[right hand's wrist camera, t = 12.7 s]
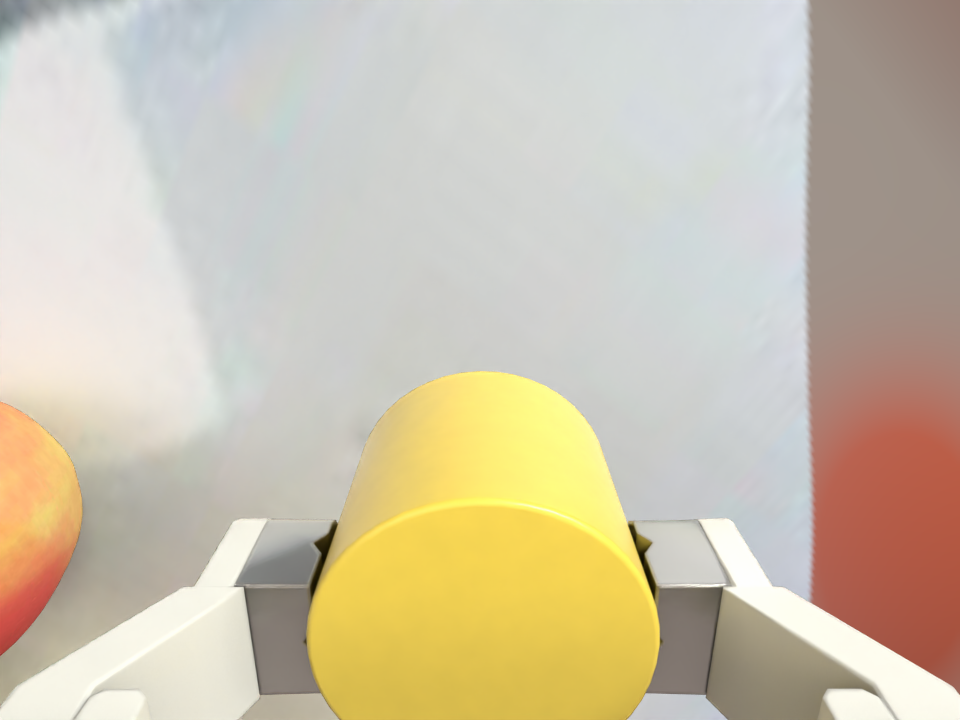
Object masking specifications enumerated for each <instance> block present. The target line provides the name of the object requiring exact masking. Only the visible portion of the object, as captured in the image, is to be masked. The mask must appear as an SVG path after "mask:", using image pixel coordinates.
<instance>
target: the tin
mask: <svg viewBox="0 0 960 720" xmlns="http://www.w3.org/2000/svg"><path fill="white" fill-rule="evenodd" d="M306 639H307V653H308V657H309V661H310V665H311V669H312V674H313V676H314V679H315V681H316V683H317V686H318V688H319V691H320V692H321V694H322V696H323V697H324V699H325V701H326V702H327V704H328V706H329V707H330V708H331V710H332V711H333V712H334V713H335V715H336V716H337V717H338V718H339V720H627V719H628V718H629V716H630V715H631V714H632V713H633V711H634V710H635V709H636V707H637V706H638V704H639V703H640V702H641V700H642V699H643V697H644V695H645V693H646V691H647V689H648V687H649V685H650V683H651V680H652V677H653V674H654V671H655V668H656V664H657V659H658V652H659V646H660V625H659V619H658V613H657V607H656V604H655V602H654V599H653V596H652V593H651V590H650V587H649V584H648V582H647V579H646V576H645V573H644V570H643V567H642V564H641V561H640V559H639V556H638V553H637V550H636V547H635V544H634V541H633V538H632V536H631V533H630V530H629V527H628V524H627V521H626V518H625V515H624V513H623V510H622V507H621V504H620V501H619V498H618V495H617V492H616V490H615V487H614V484H613V481H612V478H611V475H610V472H609V470H608V467H607V464H606V461H605V458H604V455H603V452H602V449H601V447H600V444H599V441H598V439H597V437H596V435H595V433H594V431H593V430H592V428H591V426H590V425H589V423H588V422H587V421H586V419H585V418H584V417H583V415H582V414H581V413H580V412H579V411H578V410H577V409H576V408H575V407H574V406H573V405H572V404H571V403H570V402H568V401H567V400H566V399H565V398H563V397H562V396H561V395H559V394H558V393H556V392H555V391H553V390H551V389H549V388H548V387H546V386H544V385H542V384H539V383H537V382H535V381H532V380H530V379H527V378H524V377H520V376H516V375H513V374H507V373H500V372H486V371H476V372H465V373H458V374H453V375H449V376H444V377H441V378H439V379H436V380H433V381H430V382H428V383H426V384H424V385H422V386H420V387H418V388H416V389H414V390H412V391H411V392H409V393H408V394H406V395H405V396H403V397H402V398H400V399H399V400H398V401H397V402H396V403H395V404H394V405H392V406H391V407H390V408H389V409H388V410H387V411H386V412H385V414H384V415H383V416H382V417H381V418H380V419H379V421H378V422H377V424H376V425H375V427H374V428H373V430H372V432H371V433H370V435H369V438H368V440H367V442H366V444H365V447H364V449H363V452H362V455H361V458H360V461H359V464H358V467H357V470H356V473H355V476H354V479H353V481H352V484H351V487H350V490H349V493H348V496H347V499H346V502H345V505H344V508H343V511H342V514H341V517H340V520H339V522H338V525H337V528H336V531H335V534H334V537H333V540H332V543H331V546H330V549H329V552H328V555H327V558H326V561H325V563H324V566H323V569H322V572H321V575H320V578H319V581H318V584H317V587H316V590H315V593H314V596H313V599H312V603H311V606H310V610H309V614H308V620H307V631H306Z"/></svg>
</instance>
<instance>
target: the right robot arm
mask: <svg viewBox="0 0 960 720" xmlns="http://www.w3.org/2000/svg"><path fill="white" fill-rule="evenodd" d="M337 525H338V524H337V522H336V520H309V519H271V520H270V519H268V518H265V519H237V520H235V521H233V522H232V523H231V525H230V527H229V528H228V530H227V532H226V533H225V535H224V537H223V538H222V540H221V542H220V543H219V545H218V547H217V548H216V550H215V552H214V553H213V555H212V557H211V558H210V560H209V562H208V563H207V565H206V567H205V568H204V570H203V572H202V573H201V575H200V577H199V578H198V580H197V582H196V583H195V585H194V587H182V588H180V589H179V590H177V591H175V592H174V593H172V594H170V595H169V596H167V597H165V598H164V599H162V600H160V601H158V602H157V603H155V604H153V605H152V606H150V607H148V608H147V609H145V610H143V611H142V612H140V613H138V614H137V615H135V616H133V617H131V618H130V619H128V620H126V621H125V622H123V623H121V624H120V625H118V626H116V627H115V628H113V629H111V630H110V631H108V632H106V633H104V634H103V635H101V636H99V637H98V638H96V639H94V640H93V641H91V642H89V643H88V644H86V645H84V646H83V647H81V648H79V649H77V650H76V651H74V652H72V653H71V654H69V655H67V656H66V657H64V658H62V659H61V660H59V661H57V662H56V663H54V664H52V665H50V666H49V667H47V668H45V669H44V670H42V671H40V672H39V673H37V674H35V675H34V676H32V677H30V678H29V679H27V680H25V681H24V682H22V683H20V684H18V685H17V686H16V687H15V688H14V689H13V691H12V692H11V693H10V694H9V696H8V697H7V698H6V699H5V701H4V702H3V703H2V704H1V706H0V720H239V719H240V718H241V717H242V716H243V715H244V714H245V713H246V712H247V711H248V710H249V709H250V708H251V707H252V706H253V705H254V704H255V703H256V702H257V701H258V700H259V699H260V695H269V694H304V693H321V692H320V691H319V688H318V686H317V683H316V681H315V679H314V676H313V674H312V669H311V665H310V661H309V657H308V653H307V639H306V631H307V620H308V614H309V610H310V606H311V603H312V599H313V596H314V593H315V590H316V587H317V584H318V581H319V578H320V575H321V572H322V569H323V566H324V563H325V561H326V558H327V555H328V552H329V549H330V546H331V543H332V540H333V537H334V534H335V531H336V528H337ZM628 527H629V530H630V533H631V536H632V538H633V541H634V544H635V547H636V550H637V553H638V556H639V559H640V561H641V564H642V567H643V570H644V573H645V576H646V579H647V582H648V584H649V587H650V590H651V593H652V596H653V599H654V602H655V604H656V607H657V613H658V619H659V625H660V646H659V652H658V659H657V664H656V668H655V671H654V674H653V677H652V680H651V683H650V685H649V687H648V689H647V691H646V693H661V694H696V695H706V698H707V699H708V700H709V701H710V702H711V703H712V704H713V705H714V706H715V707H716V708H717V709H718V710H719V711H720V712H721V713H722V714H723V715H724V716H725V717H726V718H727V719H728V720H960V695H959V694H958V692H957V691H956V690H955V689H954V688H953V687H952V686H951V685H949V684H947V683H946V682H944V681H942V680H941V679H939V678H937V677H935V676H934V675H932V674H930V673H929V672H927V671H925V670H924V669H922V668H920V667H919V666H917V665H915V664H913V663H912V662H910V661H908V660H907V659H905V658H903V657H902V656H900V655H898V654H896V653H895V652H893V651H891V650H890V649H888V648H886V647H885V646H883V645H881V644H879V643H878V642H876V641H874V640H873V639H871V638H869V637H868V636H866V635H864V634H863V633H861V632H859V631H857V630H856V629H854V628H852V627H851V626H849V625H847V624H846V623H844V622H842V621H840V620H839V619H837V618H835V617H834V616H832V615H830V614H829V613H827V612H825V611H823V610H822V609H820V608H818V607H817V606H815V605H813V604H812V603H810V602H808V601H807V600H805V599H803V598H801V597H800V596H798V595H796V594H795V593H793V592H791V591H790V590H788V589H786V588H784V587H773V586H772V584H771V583H770V581H769V579H768V578H767V576H766V575H765V573H764V571H763V570H762V568H761V567H760V565H759V563H758V562H757V560H756V559H755V557H754V555H753V554H752V552H751V550H750V549H749V547H748V546H747V544H746V542H745V541H744V539H743V538H742V536H741V534H740V533H739V531H738V530H737V528H736V526H735V525H734V523H733V521H731V520H729V519H728V518H716V519H694V520H656V521H628Z"/></svg>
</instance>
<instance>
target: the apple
mask: <svg viewBox="0 0 960 720" xmlns="http://www.w3.org/2000/svg"><path fill="white" fill-rule="evenodd" d="M82 513H83V508H82V496H81V491H80V487H79V483H78V479H77V475H76V472H75V468H74V465H73V463H72V461H71V459H70V457H69V456H68V454H67V453H66V451H65V450H64V449H63V448H62V446H61V445H60V444H59V443H58V442H57V441H56V440H55V439H54V438H53V437H52V436H51V435H50V434H49V433H48V432H47V431H46V430H45V429H44V428H42V427H41V426H40V425H39V424H38V423H36V422H35V421H34V420H32V419H31V418H30V417H28V416H27V415H25V414H24V413H22V412H21V411H19V410H17V409H15V408H13V407H12V406H9V405H7V404H5V403H2V402H0V656H1V655H2V654H3V653H4V652H5V651H6V650H8V649H9V648H10V647H11V646H12V645H13V644H14V643H15V642H16V641H17V640H18V639H19V638H20V637H21V636H22V635H23V634H24V633H25V632H26V630H27V629H28V628H29V627H30V626H31V625H32V623H33V622H34V621H35V619H36V618H37V617H38V615H39V614H40V613H41V611H42V610H43V609H44V607H45V606H46V604H47V602H48V601H49V599H50V597H51V596H52V594H53V592H54V591H55V589H56V587H57V585H58V583H59V582H60V580H61V578H62V576H63V574H64V572H65V570H66V568H67V566H68V564H69V561H70V559H71V557H72V554H73V551H74V549H75V546H76V543H77V541H78V537H79V533H80V529H81V522H82Z"/></svg>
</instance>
